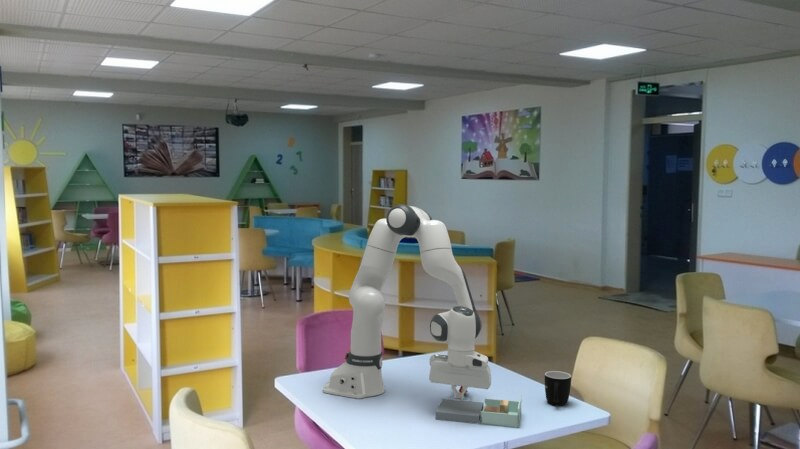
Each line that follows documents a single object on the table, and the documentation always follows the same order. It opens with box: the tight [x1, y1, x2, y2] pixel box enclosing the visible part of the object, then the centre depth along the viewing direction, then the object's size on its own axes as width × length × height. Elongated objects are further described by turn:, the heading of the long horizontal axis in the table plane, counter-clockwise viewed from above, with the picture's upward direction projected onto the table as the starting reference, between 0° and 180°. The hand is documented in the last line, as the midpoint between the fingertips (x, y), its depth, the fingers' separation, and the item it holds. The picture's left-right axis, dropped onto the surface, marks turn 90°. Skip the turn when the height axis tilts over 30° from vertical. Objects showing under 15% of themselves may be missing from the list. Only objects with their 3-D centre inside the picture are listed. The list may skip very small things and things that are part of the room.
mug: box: [544, 370, 572, 407], centre depth 224 cm, size 12×9×10 cm
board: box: [435, 398, 485, 425], centre depth 214 cm, size 14×13×2 cm
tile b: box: [484, 406, 500, 413], centre depth 211 cm, size 5×5×2 cm
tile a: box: [500, 399, 510, 414], centre depth 210 cm, size 5×5×2 cm
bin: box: [479, 395, 522, 429], centre depth 210 cm, size 12×13×6 cm
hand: (459, 398), depth 212 cm, fingers closed
